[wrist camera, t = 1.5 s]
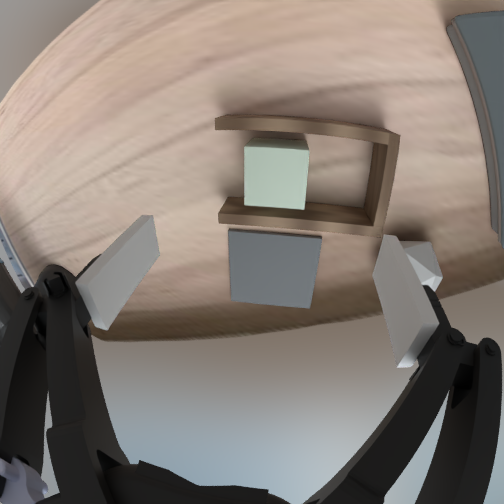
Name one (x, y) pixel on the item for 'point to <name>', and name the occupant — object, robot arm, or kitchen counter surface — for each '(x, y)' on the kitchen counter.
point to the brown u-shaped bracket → (316, 214)
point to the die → (423, 262)
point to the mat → (273, 267)
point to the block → (275, 173)
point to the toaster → (486, 93)
